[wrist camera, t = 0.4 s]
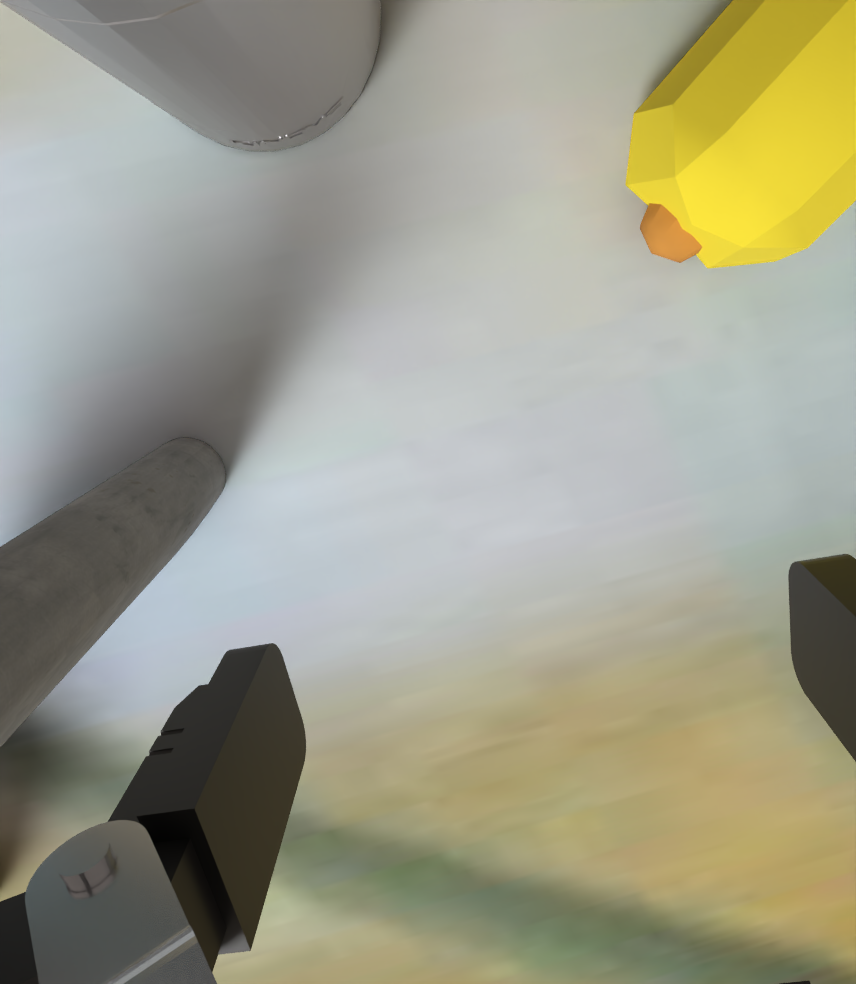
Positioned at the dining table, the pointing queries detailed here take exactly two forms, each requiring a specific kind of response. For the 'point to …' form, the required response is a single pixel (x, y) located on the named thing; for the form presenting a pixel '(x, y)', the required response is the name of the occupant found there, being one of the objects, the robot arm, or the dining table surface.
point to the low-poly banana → (751, 135)
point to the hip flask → (94, 566)
